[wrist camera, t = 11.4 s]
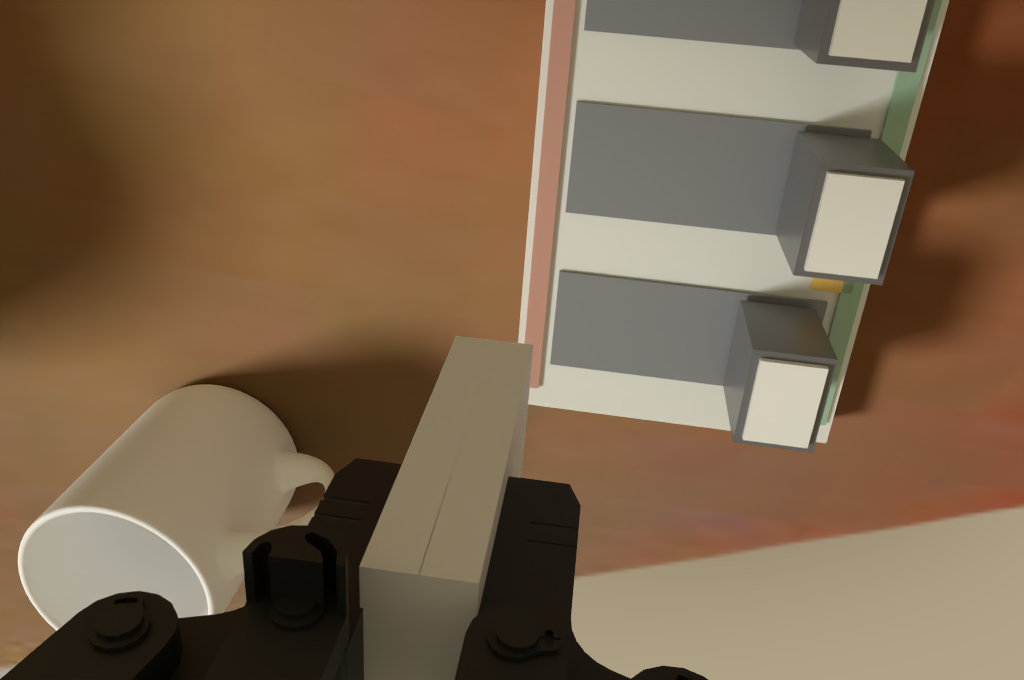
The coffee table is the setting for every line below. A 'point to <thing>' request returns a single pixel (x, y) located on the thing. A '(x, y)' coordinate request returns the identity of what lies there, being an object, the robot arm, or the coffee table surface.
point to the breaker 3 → (842, 207)
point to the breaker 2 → (864, 32)
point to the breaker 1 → (778, 376)
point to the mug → (169, 507)
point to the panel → (680, 195)
